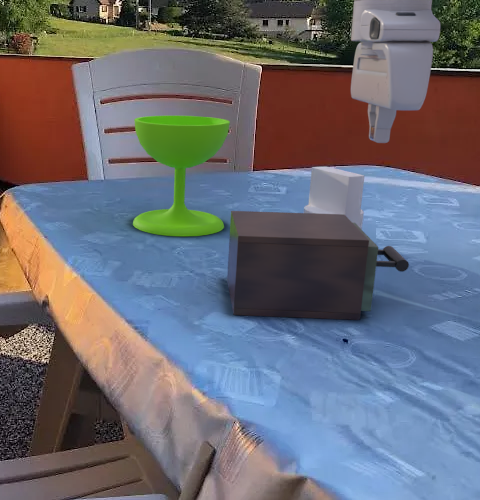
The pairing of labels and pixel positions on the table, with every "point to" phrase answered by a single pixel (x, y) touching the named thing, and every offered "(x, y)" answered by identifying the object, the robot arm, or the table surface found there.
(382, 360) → the table surface
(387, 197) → the table surface
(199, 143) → the wineglass
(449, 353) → the table surface
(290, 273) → the cabinet
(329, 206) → the base with upright slab
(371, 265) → the drawer
